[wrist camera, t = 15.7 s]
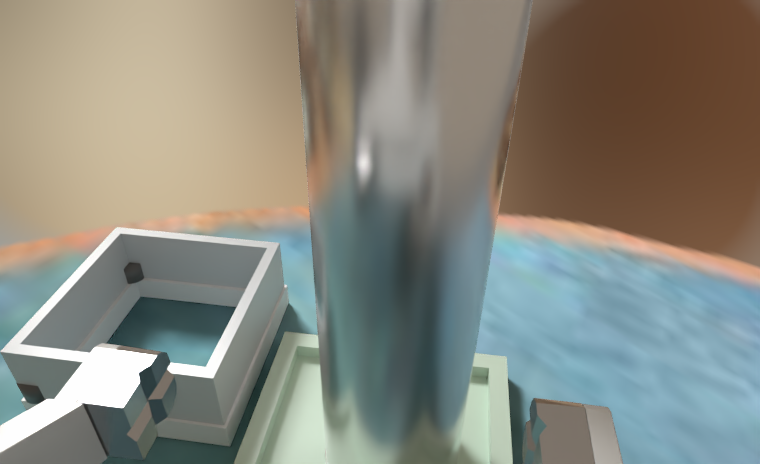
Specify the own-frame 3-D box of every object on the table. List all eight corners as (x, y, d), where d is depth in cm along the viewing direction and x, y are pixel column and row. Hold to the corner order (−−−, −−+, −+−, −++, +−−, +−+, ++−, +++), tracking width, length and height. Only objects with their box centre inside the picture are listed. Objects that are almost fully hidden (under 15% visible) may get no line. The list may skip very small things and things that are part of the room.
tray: (502, 373, 33) (506, 356, 32) (515, 626, 22) (521, 611, 21) (287, 347, 34) (285, 331, 33) (202, 575, 23) (196, 559, 23)
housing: (289, 301, 37) (283, 241, 35) (229, 448, 28) (214, 383, 26) (133, 284, 39) (114, 224, 36) (28, 420, 30) (-9, 354, 27)
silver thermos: (363, 382, 31) (362, -168, 17) (474, 428, 29) (583, -165, 14) (299, 480, 26) (221, -173, 12) (426, 543, 24) (518, -170, 10)
